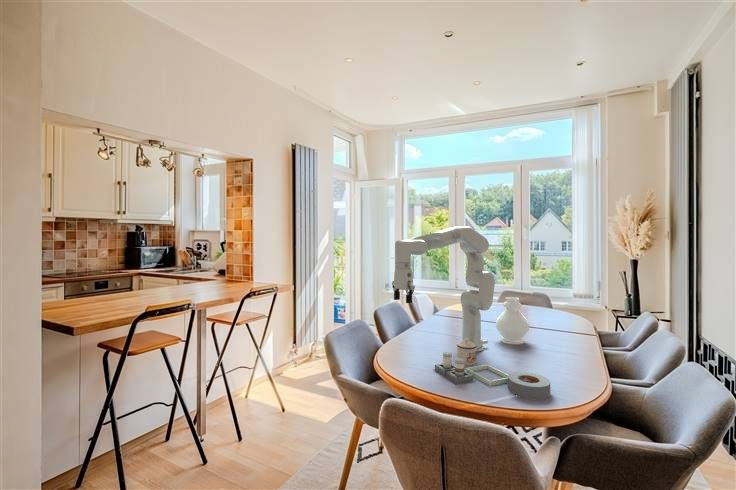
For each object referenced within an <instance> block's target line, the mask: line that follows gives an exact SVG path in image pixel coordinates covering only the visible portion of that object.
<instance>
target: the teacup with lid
mask: <svg viewBox="0 0 736 490" xmlns="http://www.w3.org/2000/svg"><path fill="white" fill-rule="evenodd" d="M476 347H477V346H476V344H475V343H472V342H471V341H469V339H464V341H458V342H457V343H456V350H457V351H456V353H457V354H456V356H457V357H456V358H461V359H464V360H465V363H464V366H466V365H467V366H472V365H475V364H476V363H477V361H476V360H477V352H476Z"/></svg>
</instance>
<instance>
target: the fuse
mask: <svg viewBox="0 0 736 490" xmlns="http://www.w3.org/2000/svg"><path fill="white" fill-rule="evenodd" d="M452 356H453V354H452V352H449V351H444V352H442V363H443V368H444V369H451V368H452V364H453V363H452V362H453V359H452Z"/></svg>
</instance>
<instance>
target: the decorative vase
mask: <svg viewBox="0 0 736 490" xmlns="http://www.w3.org/2000/svg"><path fill="white" fill-rule="evenodd" d="M503 307H504V308H505V309H504V311H503V312H502V313H500V315H499V316H498V317H497V319H496V320H495V321H496V322H495V327H496V330H497V331H498V333H499V334H500V335H501V336H502V337H500V341H501V342H502V343H505V344H510V345H523V344H525V340H523V338H524V337H525V336H526V335H527V333H529V330H530V323H529V321H528V319H527V318H526V317H525V315H524V314H523V313H522V312H521V311H520V309H521V307H522V303H521V302H520V297H517V296H506V297H505V301H504V302H503Z"/></svg>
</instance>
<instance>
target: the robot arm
mask: <svg viewBox="0 0 736 490" xmlns="http://www.w3.org/2000/svg"><path fill="white" fill-rule="evenodd" d="M454 244H459V247H460V249H461V250H462V252H463V253H464V254H465V257H466V259H467V264H466V273H465V274H466V275H465V284H466V285H467V286H469V287H470V288H474V289H466V290H463V292H462V293H461V295H460V304H461V310H462V311H461V312H462V327H461V328H462V329H461V332H462V335H461V336H462V341H464V339H469V341H471V342H472V343H475V344H476V346H477V347H476V353H478V352H482V351H484V349H485V348H484V346H483V345H487V344H488V343H489V341H488V339H485V340H483V339H482V337H481V336H482V333H481V332H482V331H481V330H482V327H481V326H482V316H481V315H482V314H481V312H480V311H489V310H490V308H491V307H492V305H493V301H494V300H493V299H494V293H495V285H496V281H495V277H494V274H493V273H492V272H490V271H488V270H484V267H485V259H484V257H483V254H484V253H487V251H488V250H489V248H490V244H489V241H488V239H487V238H486V237H485V236H484V235H482V234H481V233H480V232H478V231H477V230H475V229H474V228H472V227H470V226H467V225H462V226H459V225H458V226H456V225H455V226H452V227H448V228H445V229H442V230H438V231H434V232H431V233H427V234H423V235H418V236H415V237H411V238H408V239H398V240H396V241H395V243H394V275H393V281H392V282H391V286H392V291H393V300H394V301H399V300H400V299H401V291H400V290H402V291H405V293H406V294H405V303H406V304H412V303H413V295H414V292H415V289H416V286H415V285H414V277H413V276H414V275H413V269H411V268H412V266H411V265H412V260H411V259H412V256H413V255H414V256H422V255H425V254H426V253H427V252H428V250H434V249H435V250H436V249H443V248H446V247H449V246H452V245H454ZM475 289H478V290H475ZM462 341H461V342H462Z"/></svg>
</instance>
